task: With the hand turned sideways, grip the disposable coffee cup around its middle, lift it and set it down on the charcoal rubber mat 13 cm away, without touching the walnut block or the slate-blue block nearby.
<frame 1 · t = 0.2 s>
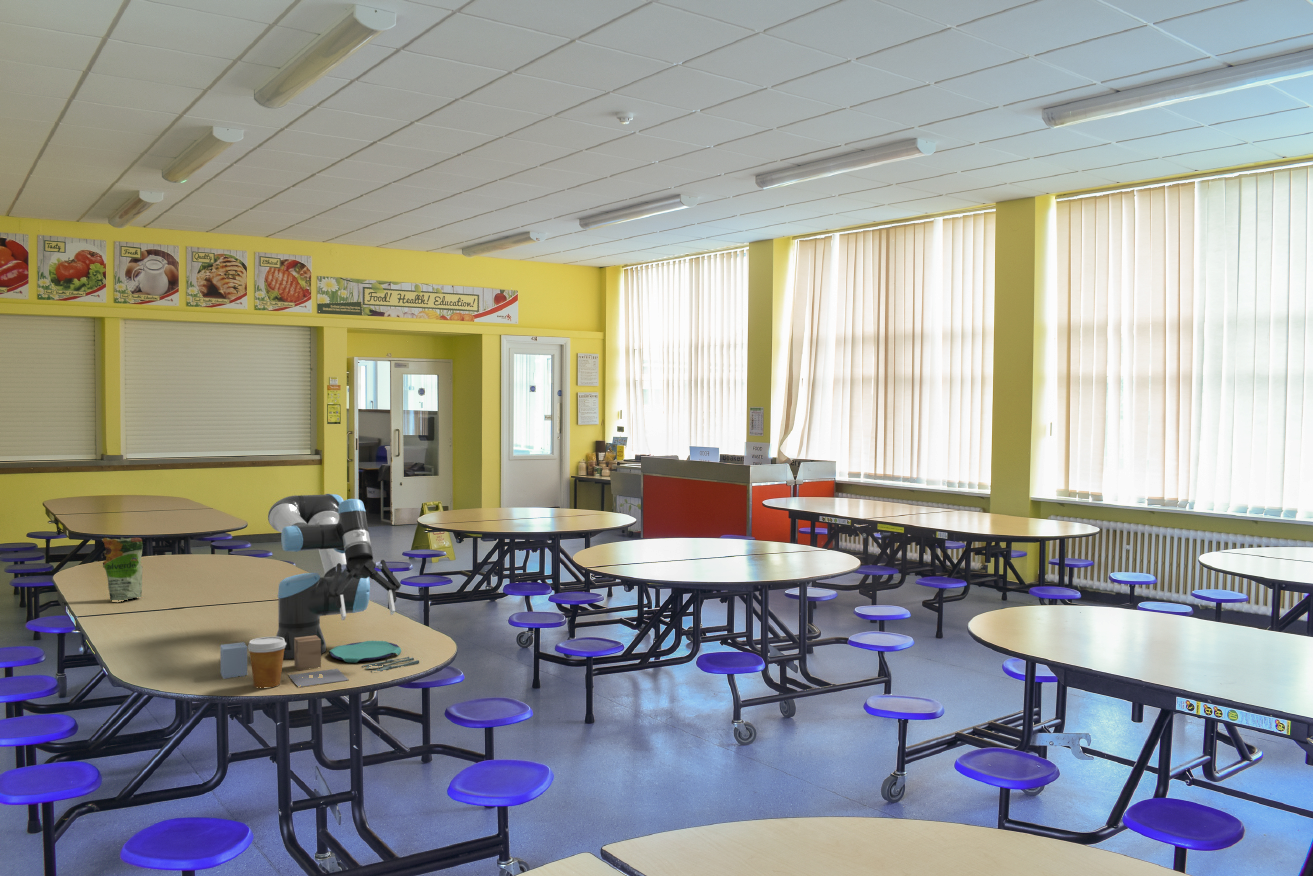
hand: (368, 615, 257), 15 cm above the table, tool tilted 35°, fingers open, 13 cm apart
slate block: (233, 674, 252), on the table
walnut block: (307, 666, 260), on the table
cutlery set: (372, 660, 269), on the table
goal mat: (318, 678, 248), on the table
disposable coffee cup: (267, 686, 242), on the table
pouch: (123, 601, 353), on the table
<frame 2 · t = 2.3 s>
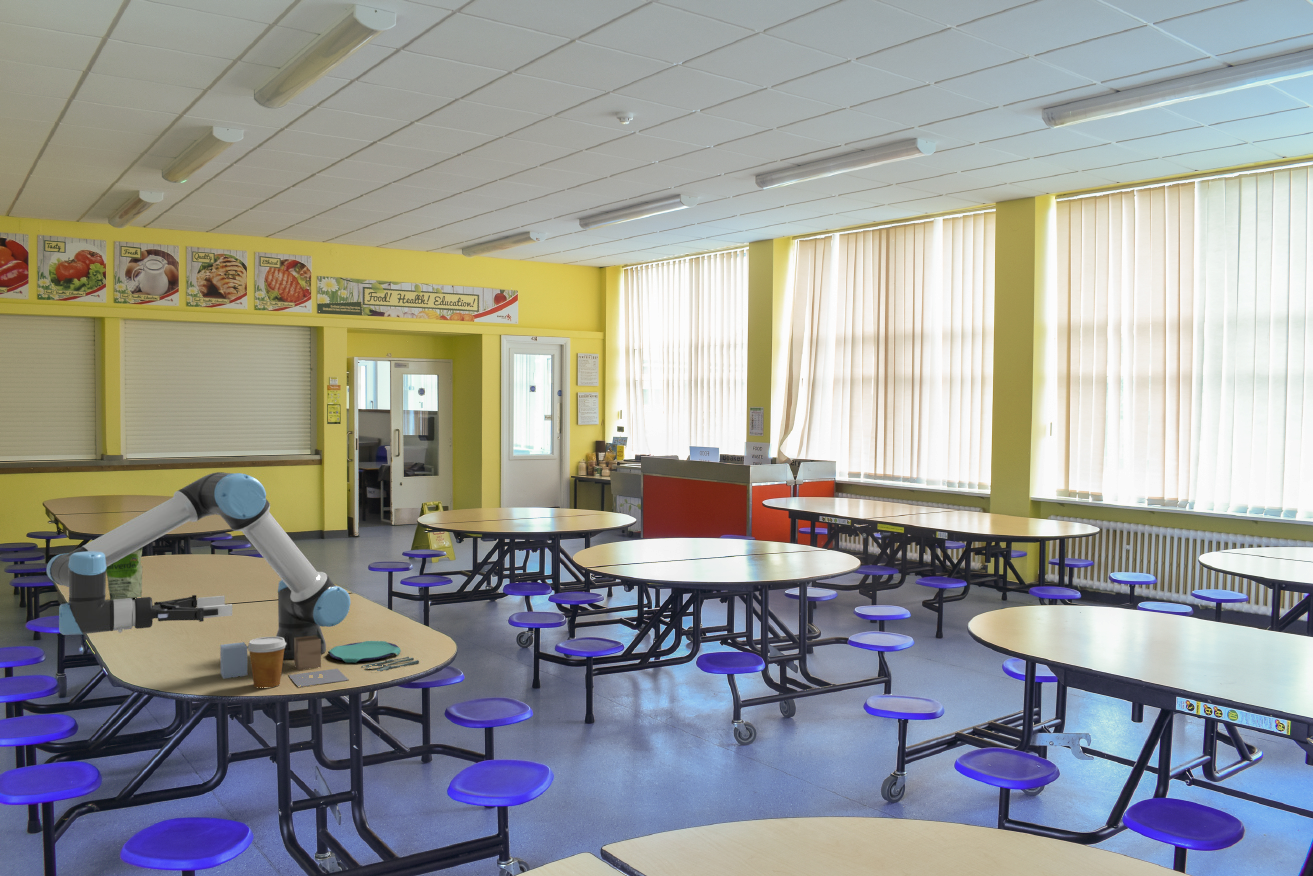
hand: (228, 605, 236), 22 cm above the table, tool horizontal, fingers open, 13 cm apart
nothing on the table moved.
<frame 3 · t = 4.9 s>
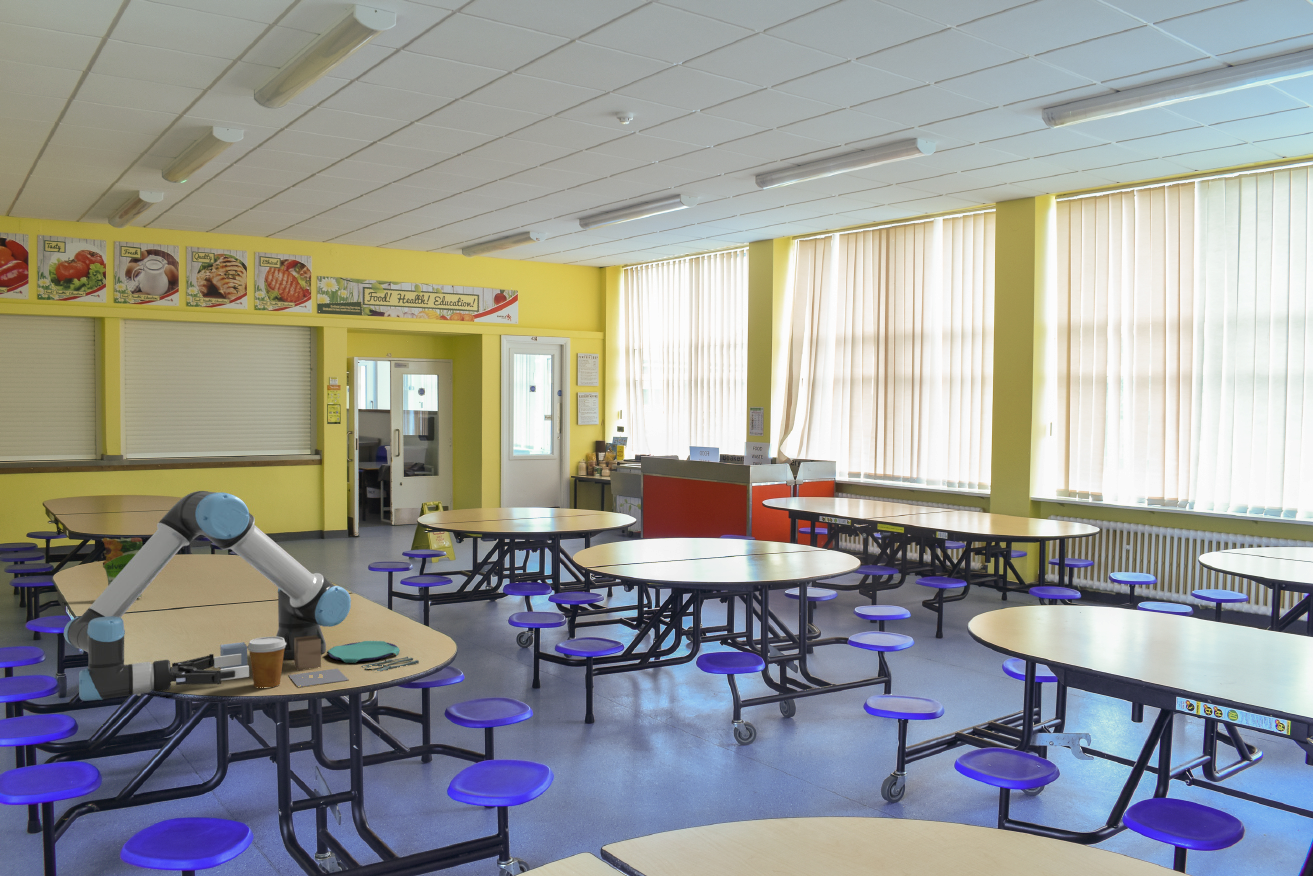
hand: (245, 664, 238), 6 cm above the table, tool horizontal, fingers open, 13 cm apart
nothing on the table moved.
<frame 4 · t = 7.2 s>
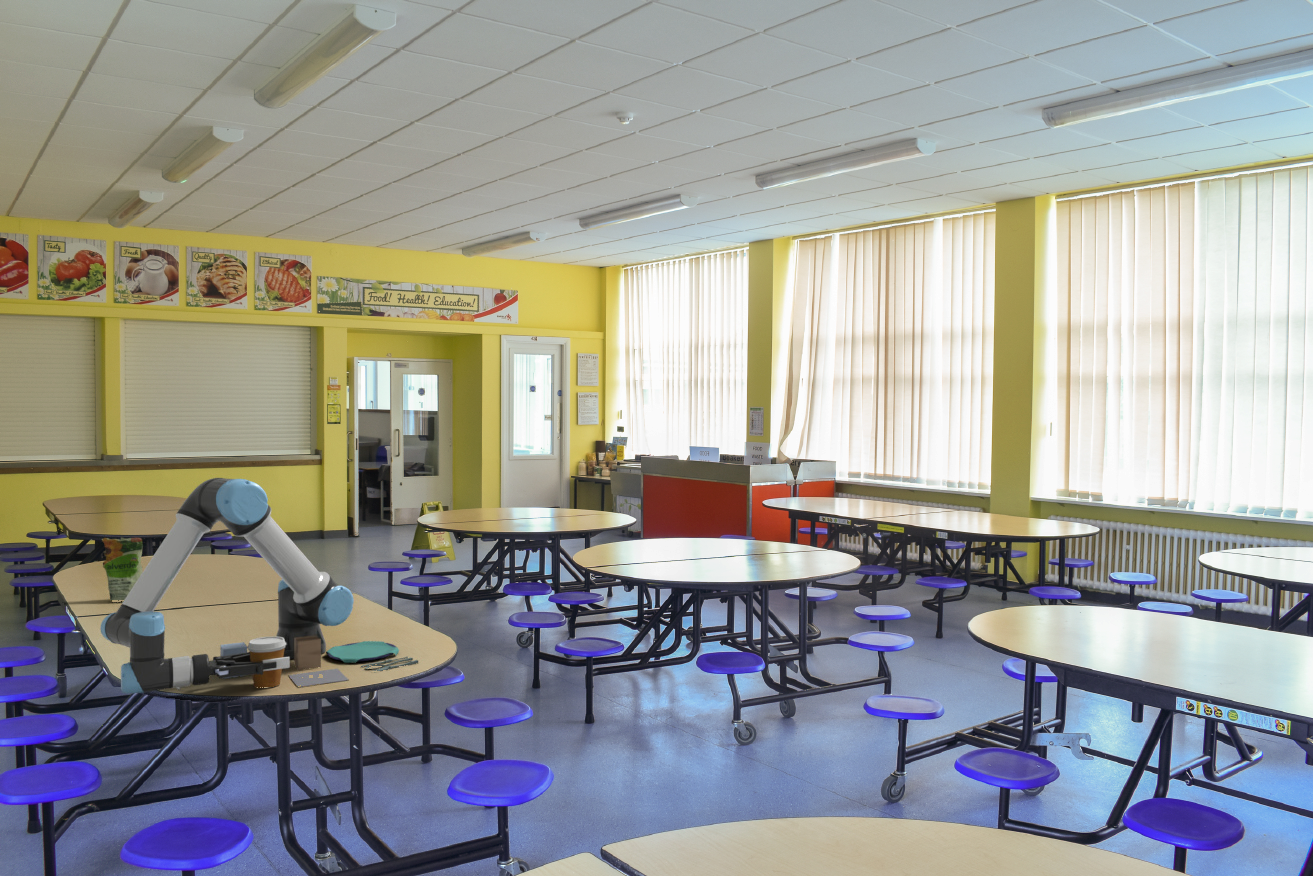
hand: (286, 658, 244), 7 cm above the table, tool horizontal, fingers closed on disposable coffee cup, 8 cm apart
disposable coffee cup: (267, 686, 242), on the table, touching gripper
everything else where it was.
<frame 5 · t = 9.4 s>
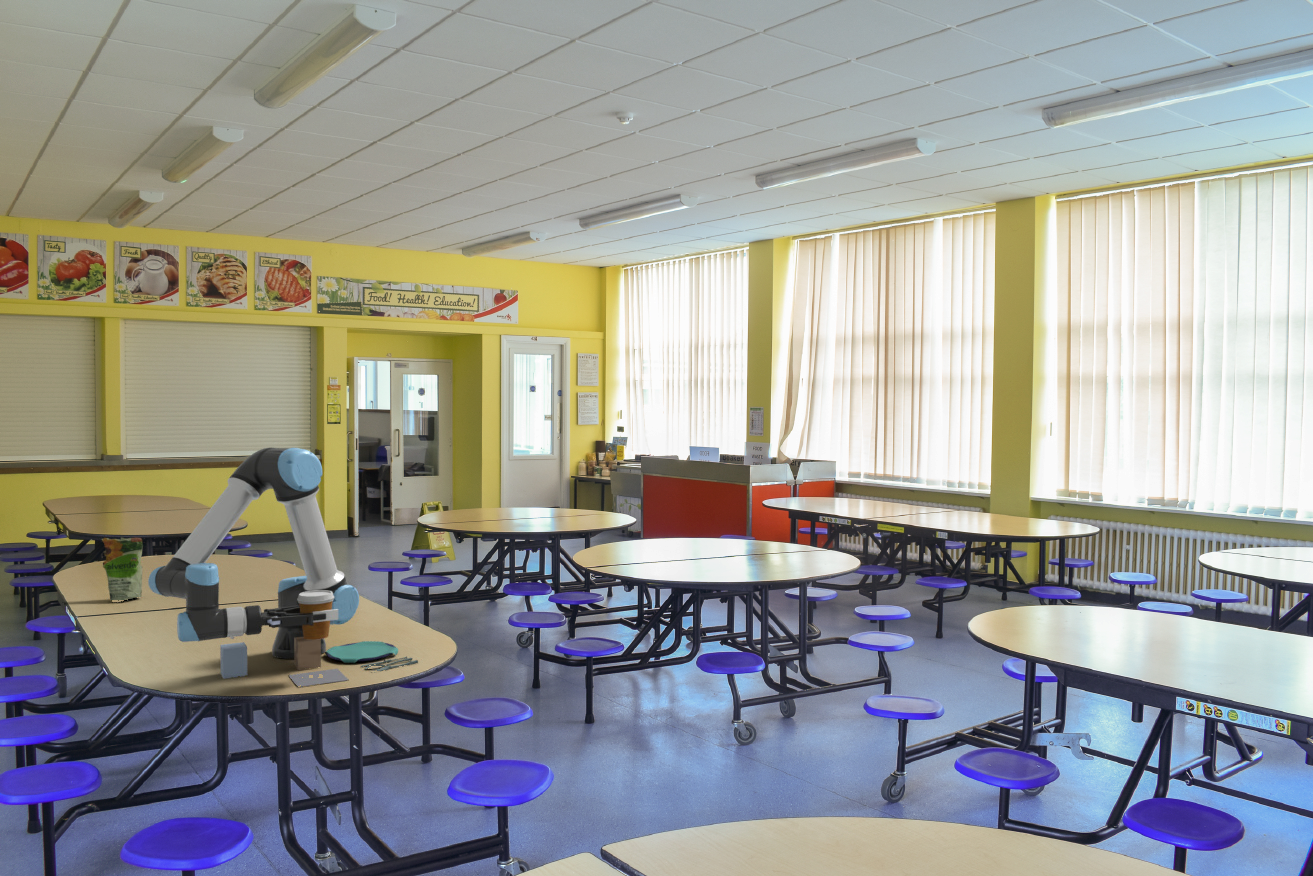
hand: (334, 611, 250), 18 cm above the table, tool horizontal, fingers closed on disposable coffee cup, 8 cm apart
disposable coffee cup: (316, 638, 248), point 11 cm above the table, touching gripper
everything else where it was.
when the fingers open (8 cm above the table, at t = 11.8 s): disposable coffee cup drops 1 cm, resting on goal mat.
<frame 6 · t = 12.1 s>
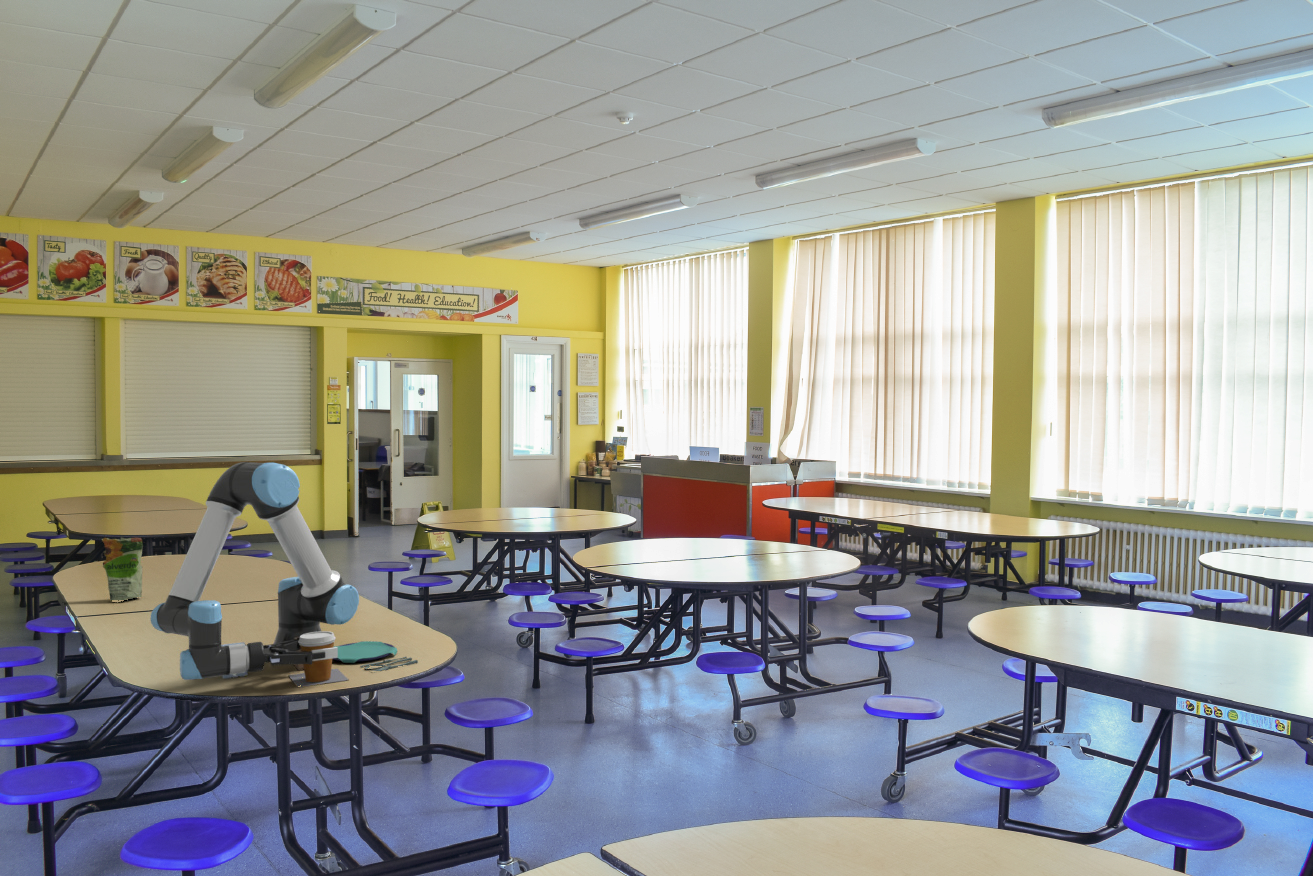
hand: (331, 647, 250), 8 cm above the table, tool horizontal, fingers open, 12 cm apart
disposable coffee cup: (318, 679, 247), resting on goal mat, touching gripper
everything else where it was.
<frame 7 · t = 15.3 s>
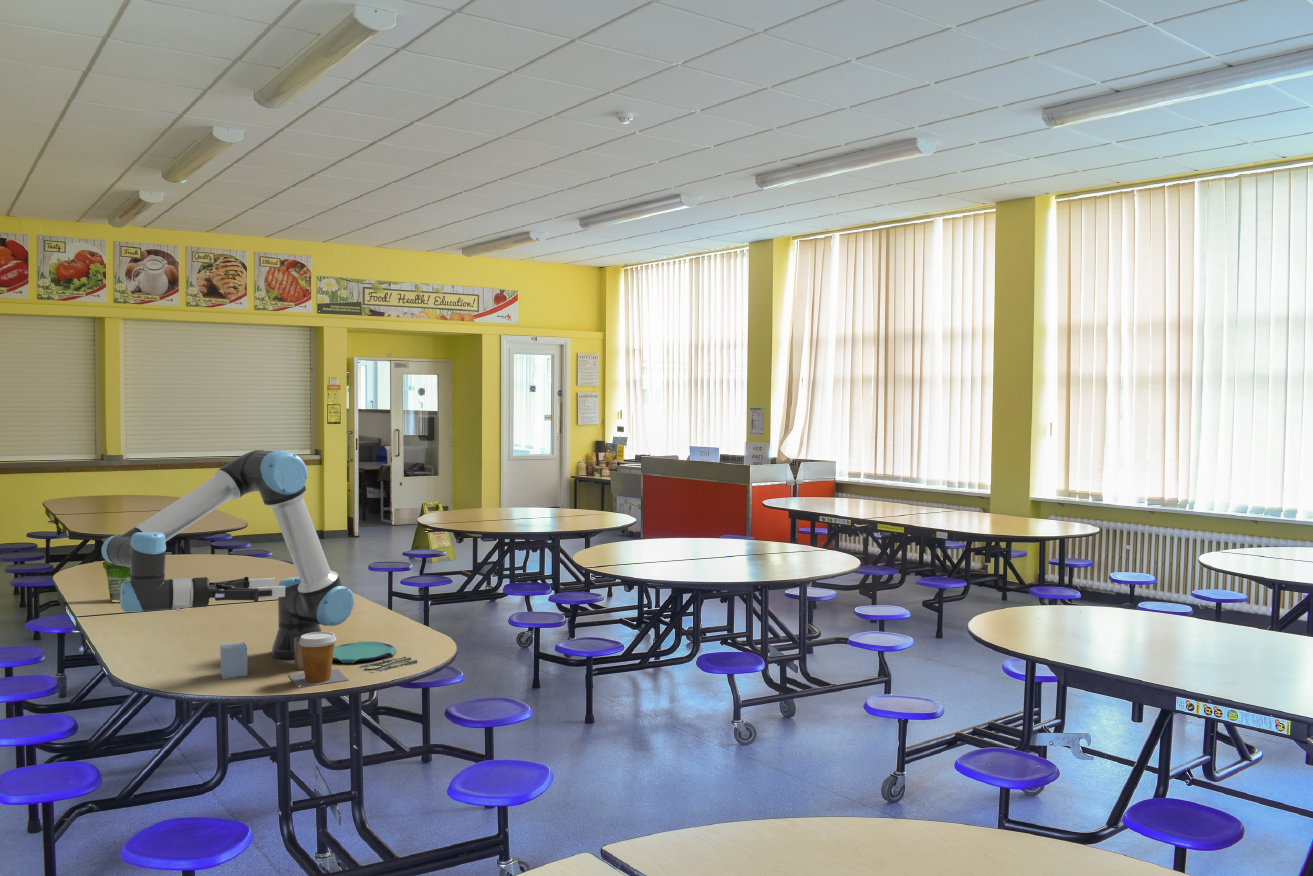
hand: (280, 587, 243), 26 cm above the table, tool horizontal, fingers open, 13 cm apart
disposable coffee cup: (317, 680, 246), resting on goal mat
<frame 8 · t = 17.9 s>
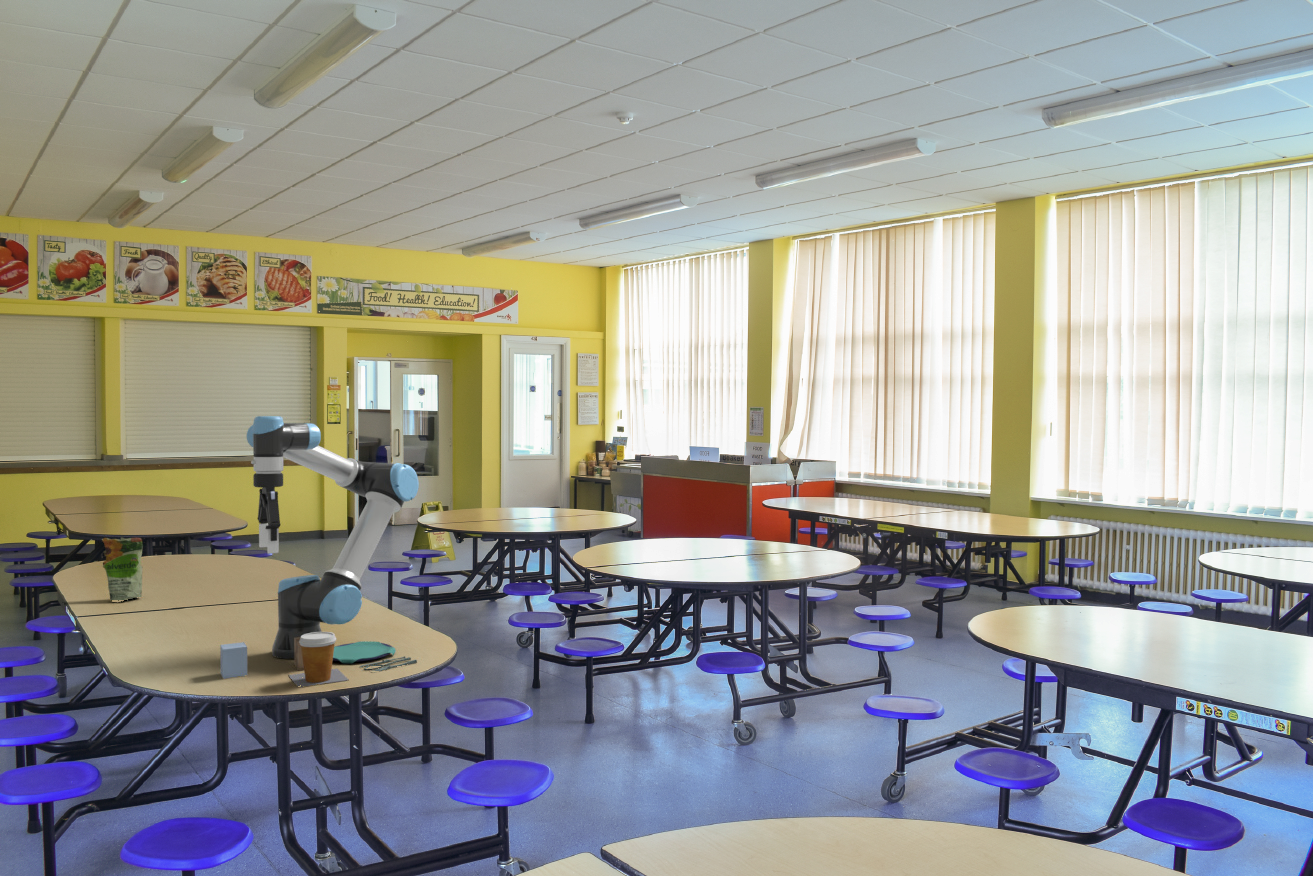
hand: (268, 550, 250), 35 cm above the table, tool pointing down, fingers open, 13 cm apart
at the end: disposable coffee cup inside the target area on the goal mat (2.2 cm from its centre), point 0.0 cm above the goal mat's base; disposable coffee cup tilted 0°; walnut block moved 0.1 cm from its start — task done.
